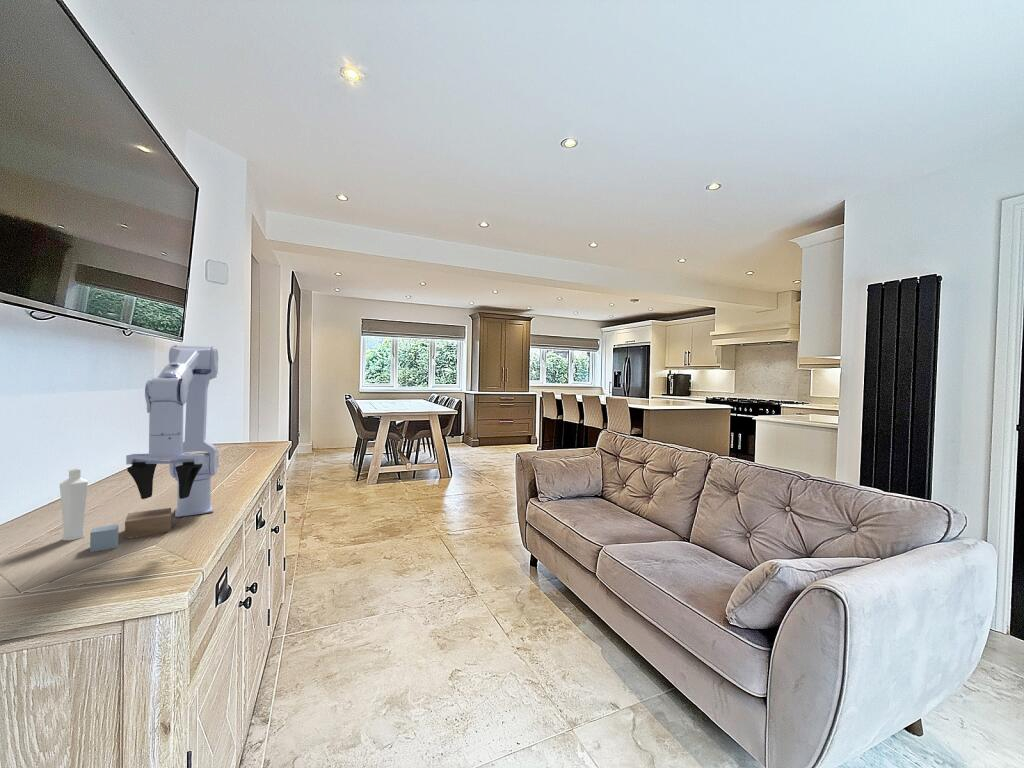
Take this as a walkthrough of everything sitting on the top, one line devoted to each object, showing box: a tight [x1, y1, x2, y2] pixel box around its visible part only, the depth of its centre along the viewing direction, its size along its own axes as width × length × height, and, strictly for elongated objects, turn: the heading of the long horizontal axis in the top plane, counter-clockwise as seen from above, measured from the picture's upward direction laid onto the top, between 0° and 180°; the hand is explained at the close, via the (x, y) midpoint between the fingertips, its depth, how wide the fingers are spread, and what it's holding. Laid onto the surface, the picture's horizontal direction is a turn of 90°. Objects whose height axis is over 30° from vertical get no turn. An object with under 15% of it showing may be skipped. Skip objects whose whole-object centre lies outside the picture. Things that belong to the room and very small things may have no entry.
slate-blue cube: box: [89, 523, 119, 553], centre depth 92 cm, size 4×4×4 cm
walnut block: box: [124, 507, 172, 539], centre depth 103 cm, size 8×8×4 cm
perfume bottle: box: [59, 468, 89, 541], centre depth 98 cm, size 5×4×15 cm
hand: (165, 497), depth 94 cm, fingers open, 7 cm apart
